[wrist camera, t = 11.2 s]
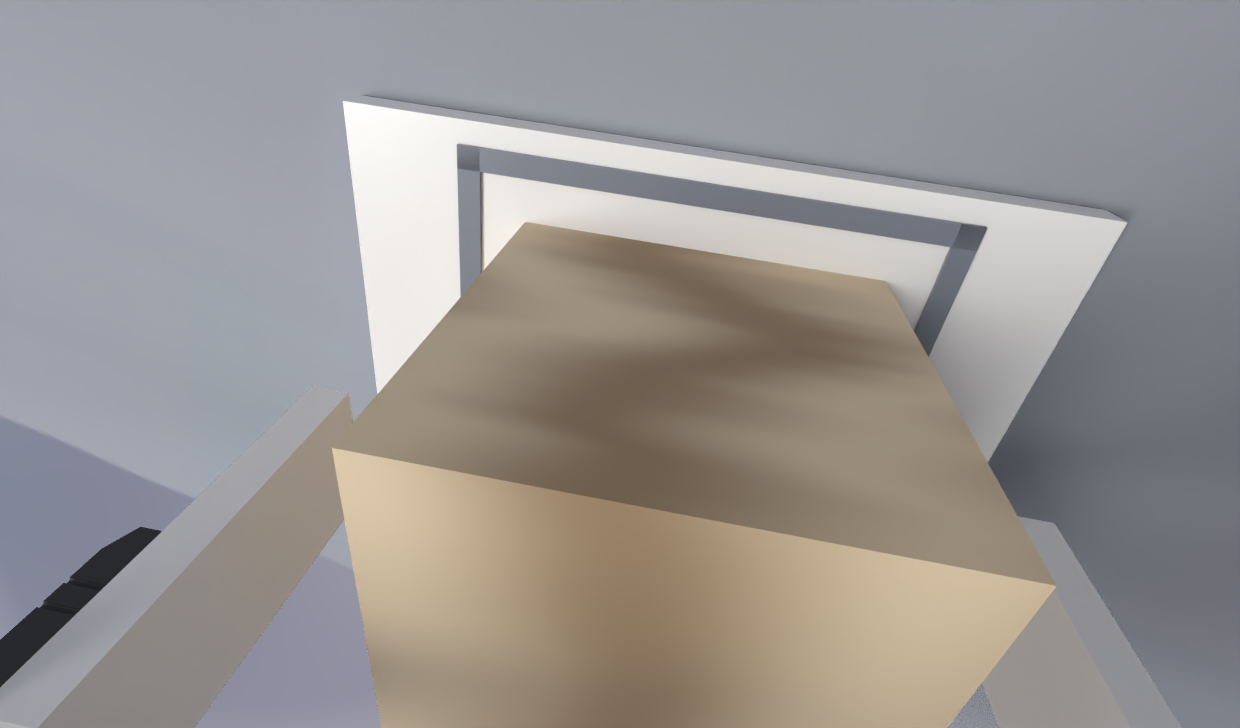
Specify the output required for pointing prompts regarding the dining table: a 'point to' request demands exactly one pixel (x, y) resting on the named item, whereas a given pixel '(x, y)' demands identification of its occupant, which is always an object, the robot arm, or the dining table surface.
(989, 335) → the white flat piece
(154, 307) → the dining table surface
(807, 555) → the wooden plinth
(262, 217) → the dining table surface
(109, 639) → the robot arm
